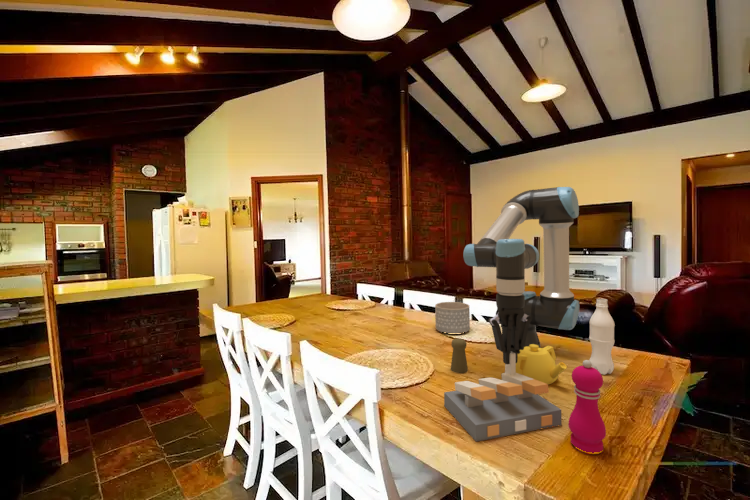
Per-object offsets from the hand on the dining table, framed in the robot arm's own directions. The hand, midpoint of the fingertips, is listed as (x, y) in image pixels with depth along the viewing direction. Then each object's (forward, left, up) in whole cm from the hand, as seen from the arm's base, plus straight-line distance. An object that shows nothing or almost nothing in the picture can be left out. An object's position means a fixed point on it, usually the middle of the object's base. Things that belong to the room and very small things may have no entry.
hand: (510, 374), depth 98 cm
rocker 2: (+7, +6, 0) cm, 9 cm away
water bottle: (-42, -8, -8) cm, 43 cm away
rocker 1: (+15, +6, 0) cm, 16 cm away
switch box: (+7, +6, -8) cm, 12 cm away
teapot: (-18, -9, -8) cm, 22 cm away
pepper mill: (-4, +23, -8) cm, 24 cm away
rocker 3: (0, +6, 0) cm, 6 cm away
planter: (-16, -68, -8) cm, 70 cm away
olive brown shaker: (+3, -24, -8) cm, 26 cm away
